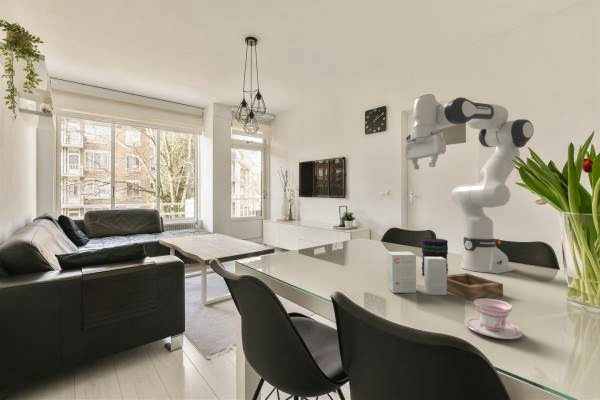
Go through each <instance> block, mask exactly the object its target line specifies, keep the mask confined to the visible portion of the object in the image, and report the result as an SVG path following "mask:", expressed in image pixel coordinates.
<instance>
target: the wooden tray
mask: <svg viewBox="0 0 600 400" xmlns="http://www.w3.org/2000/svg"><path fill="white" fill-rule="evenodd" d="M447 292H448V293H449V294H453V295H455V296H456V297H457V296H458V297H460V298H462V299H465V300H467V301H474V300H476V299H493V298H498V297H503V296H504V284H503V283H502V282H498V281H495V280H491V279H487V278H484V277H481V276H477V275H473V274H471V273H467V272H466V273H457V274H447Z"/></svg>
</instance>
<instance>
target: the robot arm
mask: <svg viewBox="0 0 600 400" xmlns="http://www.w3.org/2000/svg"><path fill="white" fill-rule="evenodd" d="M412 108H413V109H412V110H413V111H412V119H413V126H412V131H410V133H409V134H408V135H407V136H406V137H405V138H404V142H405V146H404V157H405V160H407V161H411V163H412V166H413V170H416V171H417V170H419V169H420V164H418V160H420V159H424V158H430V157H431V160H430V162H429V163H428V164H429V165H428V167H429V168H435V167H436V166H437V165H436V163H437V160H438V159H439V156H440V155H445V153H446V152H447V145H446V143H447V142H446V138H445V132H444V131H443V129H446V128H450V127H454V126H457V125H462V124H466V123H467V125H468V127H470V128H472V129H475V130H479V133H478V141H479V143H480V144H481V146H482V147H484V148H494V147H495V150H494V152H493V153H492V154H491V155H490V156H489V158H488V159H487V160H486V162H485V163H484V165H483V166H482V167H481V169H480V170H479V176H480V179H481V181H480V182H477V183H464V184H460V185H457V186H455V187H454V188H453V190H452V191H451V200H452V201H453V203H454V204H455V205H456V206H457V208H459V210H460V212H461V215H462V217H463V222H464V223H463V224H464V237H463V239H462V241H463V246H464V247H463V249H462V257H461V262H460V268H461V269H465V270H467V271H468V270H469V271H472V272H478V273H479V272H481V273H491V274H498V275H499V274H502V273H507V272H513V271H515V270H516V268H515V267H514V266H511V265H509V257H508V256H507V255H506V253H505V252H503V251H501V250H500V248H498V247H497V244H498V245H500V244H501V240H500V239H499V238H498V239H497V238H494V221H493V220H492V218H490V217H489V216H487V215H486V214H485V212H484V208H489V209H490V208H491V209H493V208H498V207H503V206H505V205H507V204H508V203H509V201H510V199H511V191H510V188H509V187H508V186H507V185H506V182H507V179H508V178H509V177H510V175H511V174H512V172H513V170H514V169H515V168H516V165H517V164H515V163H514V162H513V161H512V159H513V160H515V161H517V159H516V158H515V156H517V157H519V158H520V156H521V152H520V149H519V148H524V147H525V146H526V145H527V143H528V142H529V141H531V140H530V139H531V138H532V137H533V135H534V125H533V124H532V122H531V121H530V120H528V119H525V118H523V119H522V118H521V119H519V118H518V119H516V120H515V119H514V120H508V118H509V111H508V110H507V108H506V107H504V106H502V105H498V104H495V103H494V104H493V103H481V102H475V101H471V100H469V99H468V98H465V97H462V96H461V97H456V98H454V99H452V100H451V101H448V102H446V103H441V102H439V101H438V100H437V99H436V95H435V94H433V93H427V94H425V95H424V94H423V95H421V96H419V97H417V98H416V99H415V100H414V103H413V107H412Z"/></svg>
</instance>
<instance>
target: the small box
mask: <svg viewBox="0 0 600 400" xmlns="http://www.w3.org/2000/svg"><path fill="white" fill-rule="evenodd" d="M387 288H388V289H389V290H390V291H391V292H392V293H393V294H394V293H395V294H396V293H397V294H399V293H401V294H402V293H403V294H404V293H405V294H406V293H407V294H414V293H415V294H416V293H417V254H415V253H414V252H411V251H387Z"/></svg>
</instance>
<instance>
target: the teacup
mask: <svg viewBox="0 0 600 400" xmlns="http://www.w3.org/2000/svg"><path fill="white" fill-rule="evenodd" d="M473 305H475V307H476V308H477V311H478V312H479V315H478V316H476V315H475V316H469V317H466V318H465V319H464V320H463V323H464V325H465V327H467V328H468V329H469V330H471V331H473V332H475V333H478V334H480V335H484V336H487V337H491V338H496V339H502V340H515V339H519V338H521V337H522V336H523V330H522V329H521V328H519V327H518V326H517V325H515V324H513V323H511V322H508V321H507V317H508V316H509V313H511V312H512V311H513V305H512V304H511V303H509V302H506V301H503V300H498V299H493V298H484V299H476V300H473Z"/></svg>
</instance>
